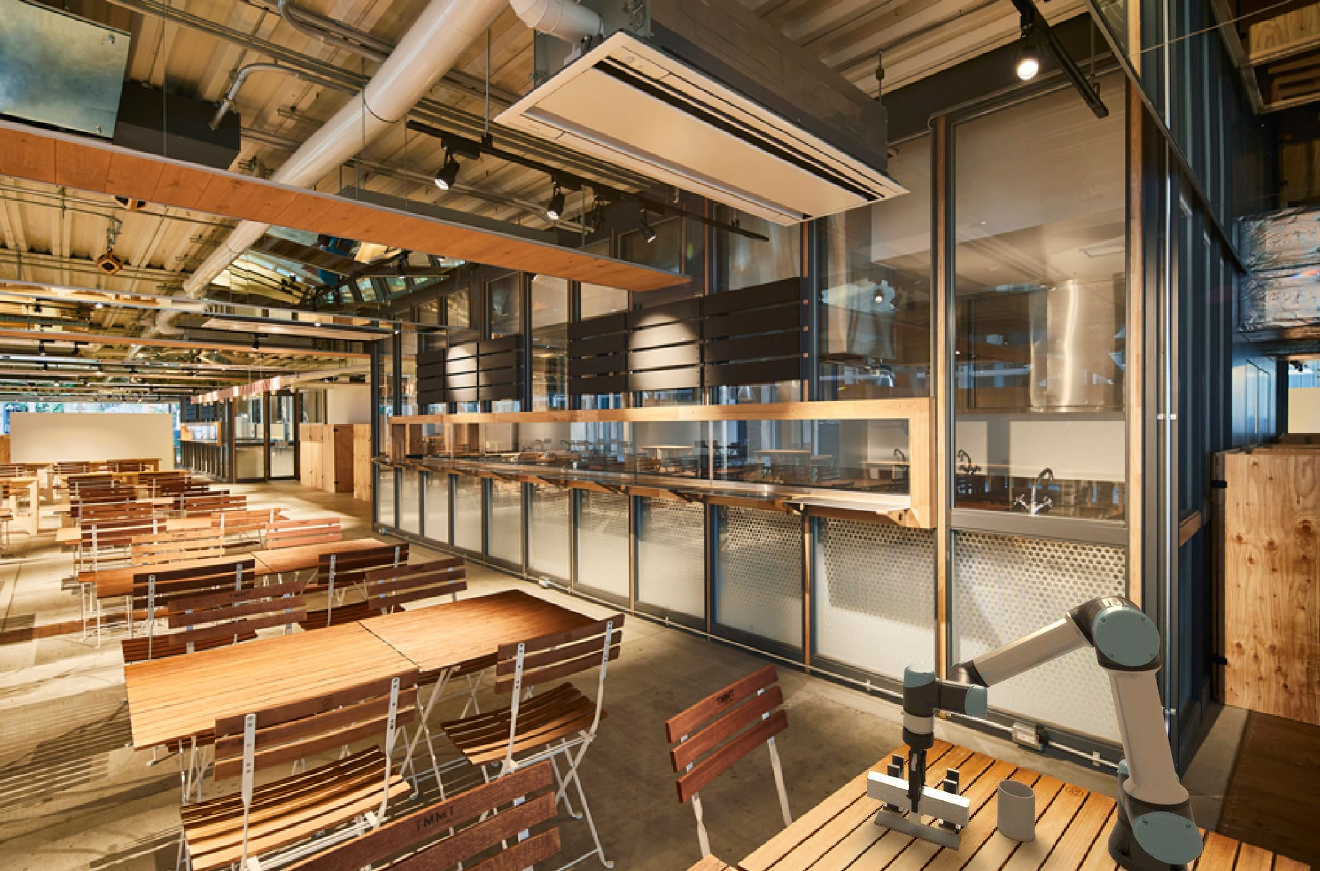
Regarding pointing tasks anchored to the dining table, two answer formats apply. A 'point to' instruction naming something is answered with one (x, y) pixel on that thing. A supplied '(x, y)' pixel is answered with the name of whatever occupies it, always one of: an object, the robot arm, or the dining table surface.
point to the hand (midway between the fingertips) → (916, 818)
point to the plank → (918, 830)
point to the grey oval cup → (1016, 810)
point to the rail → (931, 799)
